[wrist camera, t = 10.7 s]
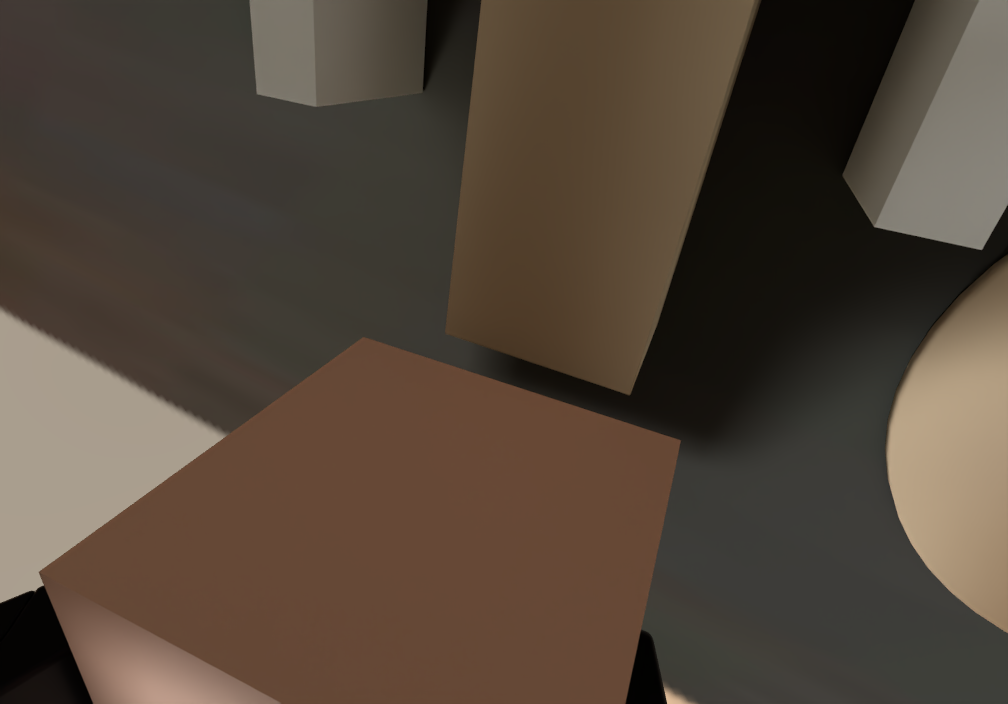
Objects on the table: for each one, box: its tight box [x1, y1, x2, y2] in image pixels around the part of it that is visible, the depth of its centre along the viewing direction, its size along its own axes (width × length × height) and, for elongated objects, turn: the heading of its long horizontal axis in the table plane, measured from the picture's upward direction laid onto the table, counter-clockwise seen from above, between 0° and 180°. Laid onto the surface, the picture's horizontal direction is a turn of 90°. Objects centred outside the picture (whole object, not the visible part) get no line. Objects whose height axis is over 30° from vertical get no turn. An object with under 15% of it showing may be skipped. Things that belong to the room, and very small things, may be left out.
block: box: [39, 337, 681, 704], centre depth 8 cm, size 5×5×5 cm
